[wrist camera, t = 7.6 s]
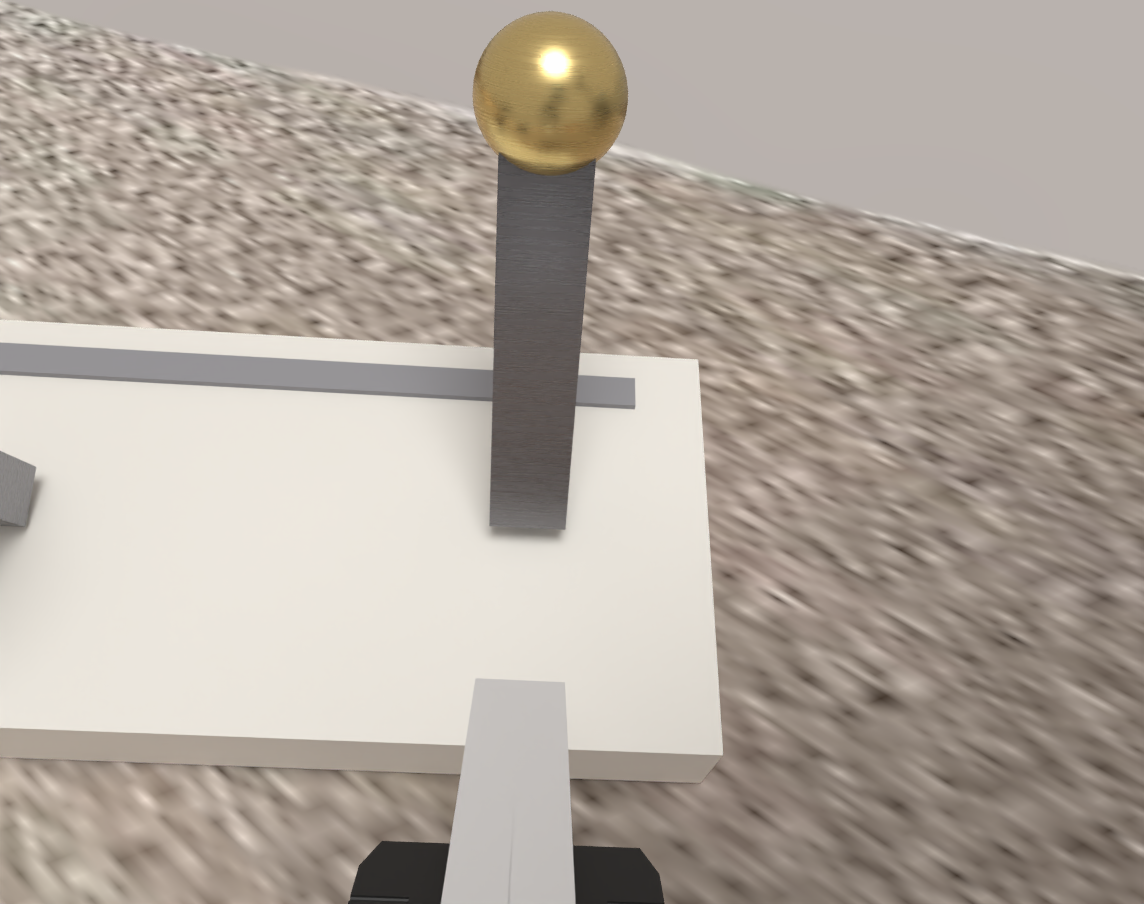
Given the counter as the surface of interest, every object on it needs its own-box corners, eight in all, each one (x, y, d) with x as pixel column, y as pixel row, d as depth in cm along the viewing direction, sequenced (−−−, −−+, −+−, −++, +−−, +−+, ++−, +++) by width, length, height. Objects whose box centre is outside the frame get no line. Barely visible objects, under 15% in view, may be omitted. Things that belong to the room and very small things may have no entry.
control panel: (700, 783, 25) (725, 753, 22) (-225, 749, 24) (-318, 713, 21) (681, 414, 31) (699, 355, 29) (-51, 373, 30) (-105, 309, 28)
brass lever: (588, 550, 24) (641, 33, 17) (463, 544, 24) (466, 20, 17) (586, 478, 27) (630, 5, 20) (473, 472, 26) (479, -6, 20)
